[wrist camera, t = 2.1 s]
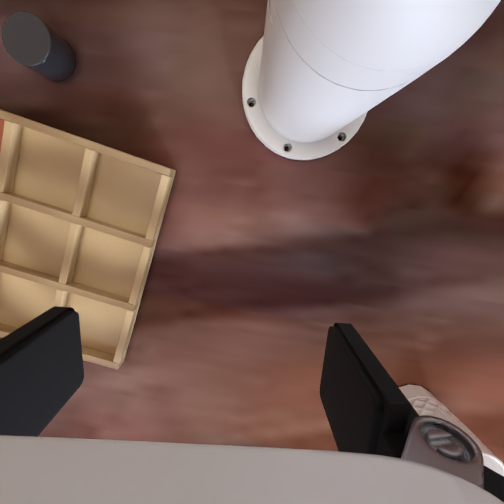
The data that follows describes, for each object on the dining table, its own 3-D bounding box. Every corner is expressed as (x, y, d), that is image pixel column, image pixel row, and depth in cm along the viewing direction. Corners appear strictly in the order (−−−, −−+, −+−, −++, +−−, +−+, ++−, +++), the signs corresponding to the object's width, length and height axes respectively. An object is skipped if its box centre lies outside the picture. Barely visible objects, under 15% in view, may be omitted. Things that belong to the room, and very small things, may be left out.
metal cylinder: (37, 28, 26) (5, 3, 22) (79, 44, 26) (54, 22, 23) (30, 72, 27) (-2, 55, 23) (71, 87, 27) (46, 72, 24)
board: (-59, 88, 27) (-80, 81, 25) (176, 170, 29) (171, 168, 27) (-79, 303, 31) (-98, 309, 30) (124, 360, 33) (117, 369, 32)
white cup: (394, 371, 35) (452, 442, 25) (448, 390, 35) (525, 466, 26) (366, 421, 36) (411, 506, 26) (418, 438, 37) (480, 527, 27)
